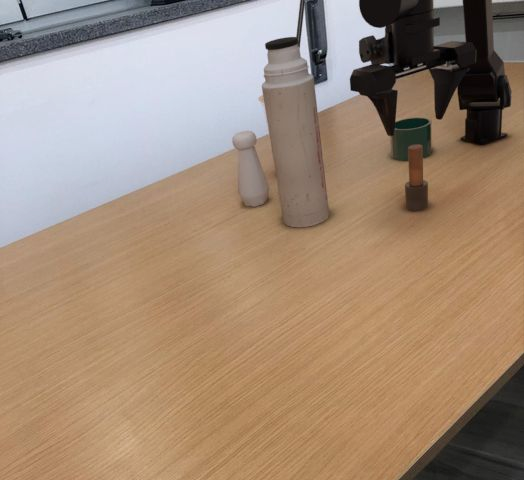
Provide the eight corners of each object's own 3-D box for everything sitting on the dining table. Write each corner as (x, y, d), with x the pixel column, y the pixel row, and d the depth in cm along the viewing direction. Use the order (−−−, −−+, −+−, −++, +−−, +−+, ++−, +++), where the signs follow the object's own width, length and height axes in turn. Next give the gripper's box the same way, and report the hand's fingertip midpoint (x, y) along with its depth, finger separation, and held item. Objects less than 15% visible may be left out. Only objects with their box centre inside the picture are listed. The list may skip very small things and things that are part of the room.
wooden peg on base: (418, 200, 101) (417, 141, 96) (432, 206, 98) (432, 145, 93) (401, 207, 100) (398, 147, 95) (415, 213, 97) (413, 152, 92)
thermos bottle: (331, 206, 106) (312, 30, 90) (326, 225, 99) (304, 39, 84) (287, 210, 108) (260, 38, 92) (279, 229, 101) (249, 48, 86)
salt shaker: (258, 210, 110) (245, 138, 103) (234, 207, 114) (220, 137, 106) (276, 197, 114) (265, 127, 106) (253, 195, 117) (240, 127, 110)
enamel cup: (414, 144, 125) (413, 115, 122) (439, 152, 119) (439, 121, 116) (383, 155, 123) (382, 125, 119) (407, 163, 117) (406, 132, 113)
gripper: (428, -2, 92) (429, 104, 101) (324, 26, 87) (335, 135, 96) (480, -2, 83) (477, 113, 92) (369, 28, 78) (376, 148, 87)
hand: (415, 127), depth 92 cm, fingers open, 9 cm apart
